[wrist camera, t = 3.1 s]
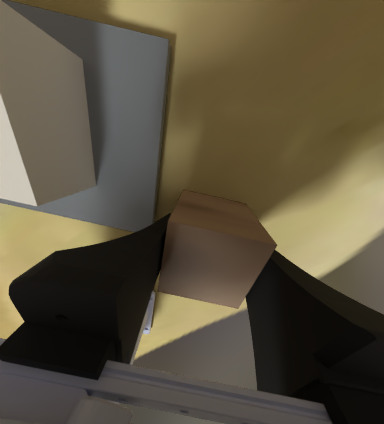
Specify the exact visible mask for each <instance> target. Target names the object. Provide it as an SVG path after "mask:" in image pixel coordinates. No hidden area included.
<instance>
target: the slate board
mask: <svg viewBox="0 0 384 424" xmlns="http://www.w3.org/2000/svg"><path fill="white" fill-rule="evenodd" d="M1 1H3V2H4V3H6V4H7V5H8V6H10V7H11V8H12V9H14V10H15V11H17V12H18V13H19V14H21V15H22V16H23V17H25V18H26V19H28V20H29V21H30V22H32V23H33V24H34V25H36V26H37V27H38V28H40V29H41V30H43V31H44V32H45V33H47V34H48V35H49V36H51V37H52V38H54V39H55V40H56V41H58V42H59V43H60V44H62V45H63V46H65V47H66V48H67V49H69V50H70V51H71V52H73V53H74V54H75V55H77V56H78V57H80V58H81V59H82V61H83V70H84V79H85V88H86V97H87V106H88V115H89V125H90V134H91V143H92V152H93V161H94V170H95V180H96V186H95V187H92V188H89V189H86V190H83V191H80V192H77V193H75V194H72V195H69V196H66V197H63V198H60V199H57V200H54V201H52V202H49V203H46V204H43V205H40V206H33V205H29V204H24V203H19V202H15V201H10V200H6V199H1V198H0V203H4V204H8V205H13V206H17V207H22V208H26V209H31V210H36V211H40V212H45V213H49V214H54V215H59V216H63V217H68V218H72V219H77V220H81V221H86V222H91V223H95V224H100V225H104V226H109V227H113V228H118V229H123V230H127V231H132V232H137V231H139V230H142V229H144V228H146V227H148V226H150V225H151V224H153V223H154V221H155V211H156V201H157V190H158V180H159V170H160V159H161V149H162V139H163V128H164V118H165V107H166V97H167V87H168V76H169V66H170V56H171V45H170V42H169V39H166V38H162V37H157V36H153V35H149V34H145V33H141V32H137V31H133V30H129V29H124V28H120V27H116V26H112V25H108V24H104V23H100V22H95V21H91V20H87V19H83V18H79V17H75V16H71V15H66V14H62V13H58V12H54V11H50V10H46V9H42V8H38V7H33V6H29V5H25V4H21V3H17V2H13V1H9V0H1Z"/></svg>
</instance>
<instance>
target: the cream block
mask: <svg viewBox="0 0 384 424" xmlns="http://www.w3.org/2000/svg"><path fill="white" fill-rule="evenodd" d="M95 186H96V180H95V170H94V161H93V152H92V143H91V134H90V125H89V115H88V106H87V97H86V88H85V79H84V70H83V61H82V59H81V58H80V57H78V56H77V55H75V54H74V53H73V52H71V51H70V50H69V49H67V48H66V47H65V46H63V45H62V44H60V43H59V42H58V41H56V40H55V39H54V38H52V37H51V36H49V35H48V34H47V33H45V32H44V31H43V30H41V29H40V28H38V27H37V26H36V25H34V24H33V23H32V22H30V21H29V20H28V19H26V18H25V17H23V16H22V15H21V14H19V13H18V12H17V11H15V10H14V9H12V8H11V7H10V6H8V5H7V4H6V3H4V2H3V1H1V0H0V198H1V199H6V200H10V201H15V202H19V203H24V204H29V205H33V206H40V205H43V204H46V203H49V202H52V201H54V200H57V199H60V198H63V197H66V196H69V195H72V194H75V193H77V192H80V191H83V190H86V189H89V188H92V187H95Z"/></svg>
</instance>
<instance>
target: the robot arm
mask: <svg viewBox="0 0 384 424" xmlns="http://www.w3.org/2000/svg"><path fill="white" fill-rule="evenodd" d="M170 216H171V214H170V213H169V214H167V215H166V216H164V217H163V218H161V219H160V220H158V221H156V222H155V223H153V224H151V225H150V226H148V227H146V228H144V229H142V230H139V231H137V232H135V233H132V234H130V235H127V236H124V237H120V238H117V239H114V240H111V241H107V242H103V243H99V244H94V245H90V246H85V247H79V248H73V249H67V250H61V251H55V252H54V253H52V254H51V255H49V256H48V257H46V258H45V259H43V260H42V261H41V262H39V263H38V264H36V265H35V266H33V267H32V268H30V269H29V270H28V271H26V272H25V273H23V274H22V275H20V276H19V277H17V278H16V279H15V280H13V281H12V283H11V284H10V286H9V296H10V299H11V301H12V302H13V304H14V306H15V307H16V309H17V310H18V312H19V313H20V315H21V317H22V318H23V320H24V321H25V322H24V323H23V324H22V325H21V326H20V327H19V328H18V329H17V330H16V331H15V332H14V333H13V334H12V335H11V336H10V337H8V338H7V339H2V338H0V424H132V423H131V418H132V411H131V409H128V408H125V407H123V406H120V405H119V403H124V404H129V405H134V406H139V407H145V408H149V409H154V410H159V411H165V412H169V413H174V414H180V415H184V416H189V417H195V418H199V419H205V420H210V421H214V422H220V423H225V424H384V315H383V314H381V313H379V312H377V311H375V310H373V309H371V308H368V307H367V306H365V305H363V304H361V303H359V302H357V301H355V300H353V299H351V298H349V297H347V296H346V295H344V294H342V293H340V292H338V291H337V290H334V289H333V288H331V287H329V286H328V285H326V284H324V283H323V282H321V281H319V280H318V279H316V278H314V277H313V276H311V275H310V274H308V273H307V272H305V271H304V270H302V269H301V268H299V267H298V266H296V265H295V264H293V263H292V262H290V261H289V260H288V259H286V258H285V257H284V256H282V255H281V254H280V253H279V252H277V251H276V250H274V251H273V253H272V255H271V256H270V258H269V259H268V261H267V263H266V264H265V266H264V268H263V269H262V271H261V272H260V274H259V276H258V277H257V279H256V280H255V282H254V284H253V285H252V287H251V289H250V290H249V292H248V293H247V295H246V302H247V308H248V313H249V320H250V326H251V333H252V341H253V349H254V358H255V369H256V379H257V390H252V389H248V388H243V387H238V386H233V385H228V384H223V383H218V382H213V381H208V380H203V379H198V378H193V377H188V376H184V375H179V374H174V373H168V372H163V371H159V370H154V369H149V368H144V367H139V366H134V365H132V363H133V360H134V357H135V354H136V351H137V348H138V345H139V342H140V339H141V336H142V333H143V334H149V333H150V330H151V323H152V315H153V308H154V301H155V292H154V291H153V289H154V286H155V283H156V280H157V277H158V275H159V272H160V270H161V265H162V258H163V252H164V245H165V238H166V231H167V225H168V220H169V218H170Z"/></svg>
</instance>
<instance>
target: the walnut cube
mask: <svg viewBox="0 0 384 424" xmlns="http://www.w3.org/2000/svg"><path fill="white" fill-rule="evenodd" d="M276 246H277V244H276V243H275V242H274V240H273V239H272V238H271V236H270V235H269V234H268V232H267V231H266V230H265V228H264V227H263V226H262V224H261V223H260V222H259V220H258V219H257V218H256V216H255V215H254V214H253V212H252V211H251V210H250V208H249V207H248V206H247V205H246V204H244V203H240V202H236V201H231V200H227V199H222V198H218V197H213V196H209V195H205V194H200V193H196V192H191V191H187V190H183V192H182V194H181V196H180V198H179V200H178V202H177V204H176V206H175V208H174V210H173V212H172V214H171V216H170V218H169V220H168V225H167V231H166V238H165V245H164V252H163V258H162V265H161V272H160V278H159V285H158V292H162V293H167V294H172V295H176V296H181V297H186V298H190V299H195V300H200V301H204V302H209V303H214V304H219V305H223V306H228V307H233V308H237V309H238V308H239V306H240V305H241V303H242V302H243V300H244V298H245V297H246V295H247V293H248V292H249V290H250V289H251V287H252V285H253V284H254V282H255V280H256V279H257V277H258V276H259V274H260V272H261V271H262V269H263V268H264V266H265V264H266V263H267V261H268V259H269V258H270V256H271V255H272V253H273V251H274V250H275V248H276Z"/></svg>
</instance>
